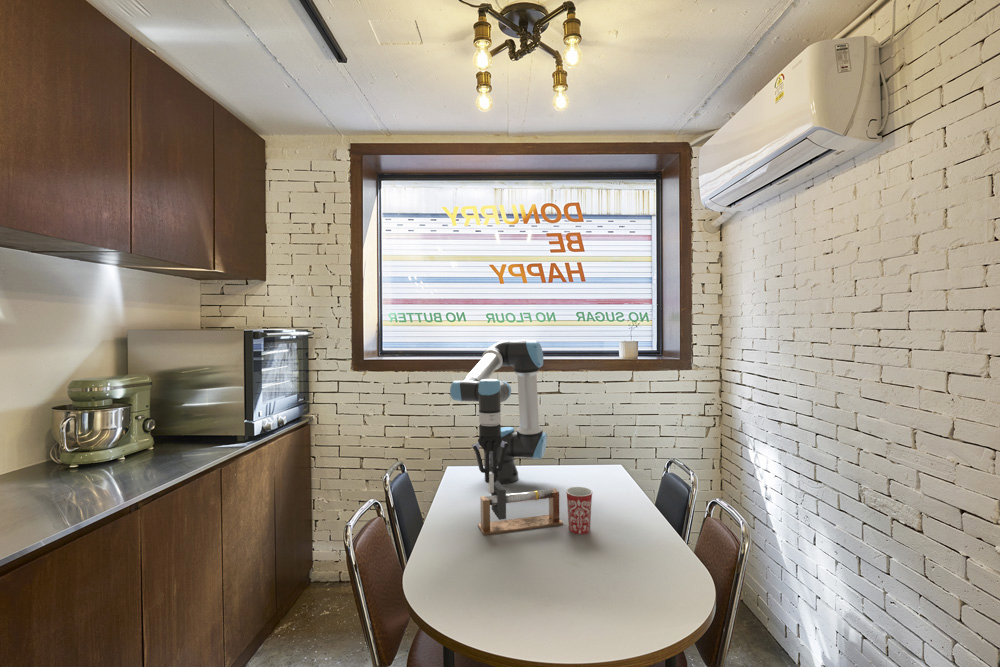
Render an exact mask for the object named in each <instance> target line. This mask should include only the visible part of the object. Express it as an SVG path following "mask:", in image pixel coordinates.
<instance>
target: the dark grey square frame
mask: <svg viewBox="0 0 1000 667" xmlns="http://www.w3.org/2000/svg"><path fill="white" fill-rule="evenodd" d="M490 494H491V495H490V496H495V495H497V504H496V505H491V511H492V512H493V513H494V516H496V518H497V519H498V521H503V520H507V503H506V494H507V489H506V488H505V486H503V485H502V483H500V482H499V481H496V482H494V493H490Z"/></svg>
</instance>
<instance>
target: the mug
mask: <svg viewBox="0 0 1000 667" xmlns="http://www.w3.org/2000/svg"><path fill="white" fill-rule="evenodd" d="M593 493H594V492H593V490H592V489H591V488H588V487H584V486H571V487H569V488H567V489H566V490H565V494H566V503H567V504H566V505H567V518H568V520H567V521H568V522H567V523H568V531H570V532H571V533H572V534H577V535H585V534H588V533H590V531H591V519H592V518H591V516H592V503H593V502H592V500H593Z"/></svg>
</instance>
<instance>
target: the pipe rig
mask: <svg viewBox="0 0 1000 667" xmlns="http://www.w3.org/2000/svg"><path fill="white" fill-rule="evenodd" d="M479 500H480V504H479V505H480V522H479V523H478V524H477V526H478V528H479V530H480V532H481V534H482V536H487V535H488V536H489V535H496V534H504V533H511V532H517V531H525V530H532V529H533V530H534V529H541V528H547V527H549V528H550V527H555V526H556V527H557V526H563V525H564V521H562V520H561V518H560V491H559V490H558V489H557V488H548V489H542V490H532V491H523V492H522V491H521V492H515V493H506V504H511V503H519V502H520V503H521V502H529V501H539V500H548V514H545V515H544V514H543V515H536V516H528V517H520V518H512V519H502V520H497V521H496V520H495V521H491V506H492V505H496V504H497V495H495V496H491V495H484V496H482V495H481V496H480V498H479Z"/></svg>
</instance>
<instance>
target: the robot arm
mask: <svg viewBox="0 0 1000 667" xmlns="http://www.w3.org/2000/svg"><path fill="white" fill-rule="evenodd" d="M543 365H544V351H543V348H542V345H541V343H540V342H539V341H538V340H530V339H519V340H512V339H511V340H506V339H505V340H502V341H498V342H496V343H494V344H493V345H491V346H489V347H487V349H486V350H485V351H484V352H483V353H482V355H481V359H480V360H479V361H478V363H476V365H474V367H473V368H472V369H471V370H470V372H468V373H467V375H466V376H465V377H464V378H463V379H462V380H454V381H452V382H451V384H450V388H449V394H450V398H451V400H453V401H458V402H478V423H479V425H478V431H479V432H478V435H479V436H478V439H477V442H476V443H473V444H471V448H472V449H473V451H474V454H475V457H476V462H477V465H478V469H479V471H480V473H482V474H484V482H485V483H486V484H487V491H488V493H489V494H491V493H494V482H496V481H499V482H500V484H508V483H509V484H510V483H514V482H516V481H518V480H519V472H518V469H517V466H516V462H515V458H520V459H531V460H534V459H535V460H536V459H537V460H538V459H539V460H540V459H542V458H543V457H544V456H545V452H546V448H547V444H548V442H547V441H548V435H547V432H543V427H542V426H541V425H540V424H539V423H540V422H539V421H540V420H539V398H538V379H537V374H538V373H539V371H540V370H541V369H540V368H541V367H543ZM501 367H512V368H513V373H515V374H516V375H517V376H516V378H517V394H518V410H519V411H518V413H519V414H518V416H519V417H518V418H519V426H518V427H517V428H516V430H515V428H514V427H512V426H505V427H504V426H503V427H502V426H501V424H500V423H501V421H502V420H501V412H502V411H501V409H502V407H501V403H503V402H505V401H507V400H508V399H509V398H510V397H511V395H512V387H511V385H510V384H509V382H507V381H505V380H499V379H497V378H491V376H492V375H493V373H495V371H496V370H499V369H500V368H501ZM480 447H481V448H482V450H483V453H484V454H483V455H484V458H483V459H484V465H483V459H482V456H481V452H480Z"/></svg>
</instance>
